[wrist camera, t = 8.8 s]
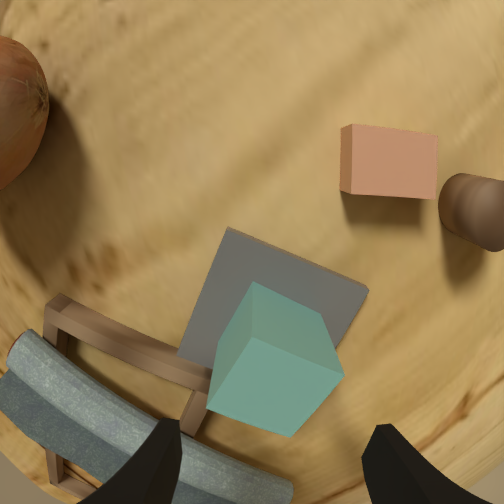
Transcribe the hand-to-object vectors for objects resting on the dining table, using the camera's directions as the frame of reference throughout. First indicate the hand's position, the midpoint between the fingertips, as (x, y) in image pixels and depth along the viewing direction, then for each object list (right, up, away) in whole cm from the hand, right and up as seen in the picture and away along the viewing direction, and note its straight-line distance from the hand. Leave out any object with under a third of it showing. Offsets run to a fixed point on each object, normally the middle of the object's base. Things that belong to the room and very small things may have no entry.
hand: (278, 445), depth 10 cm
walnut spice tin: (+13, +10, +7) cm, 18 cm away
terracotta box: (+6, +12, +7) cm, 15 cm away
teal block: (0, +2, +9) cm, 9 cm away
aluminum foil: (-9, -8, +7) cm, 14 cm away
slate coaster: (0, +3, +10) cm, 10 cm away
